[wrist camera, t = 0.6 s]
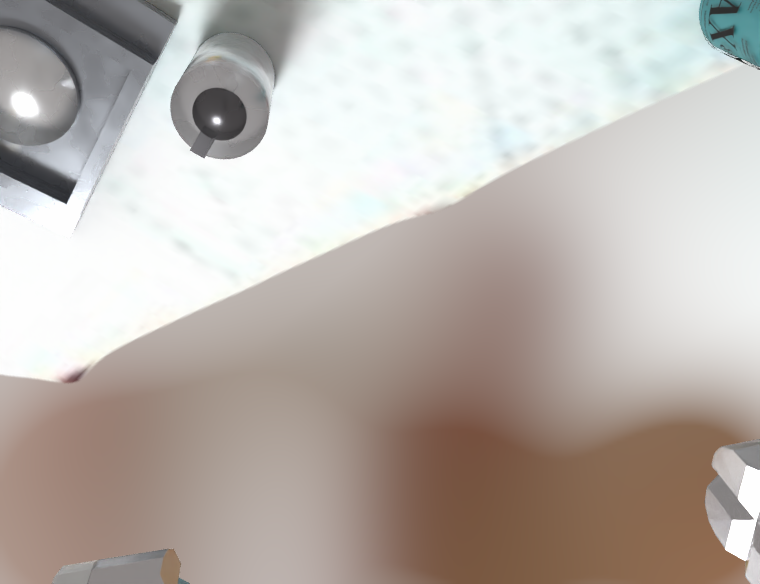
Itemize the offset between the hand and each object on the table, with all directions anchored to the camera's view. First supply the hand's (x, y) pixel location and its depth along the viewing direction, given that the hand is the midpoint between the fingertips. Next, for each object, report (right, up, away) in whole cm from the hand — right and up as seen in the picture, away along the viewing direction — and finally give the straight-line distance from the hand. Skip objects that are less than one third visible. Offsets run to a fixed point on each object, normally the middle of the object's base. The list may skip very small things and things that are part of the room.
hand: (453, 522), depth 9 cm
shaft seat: (-24, +17, +32) cm, 43 cm away
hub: (-11, +18, +32) cm, 39 cm away
